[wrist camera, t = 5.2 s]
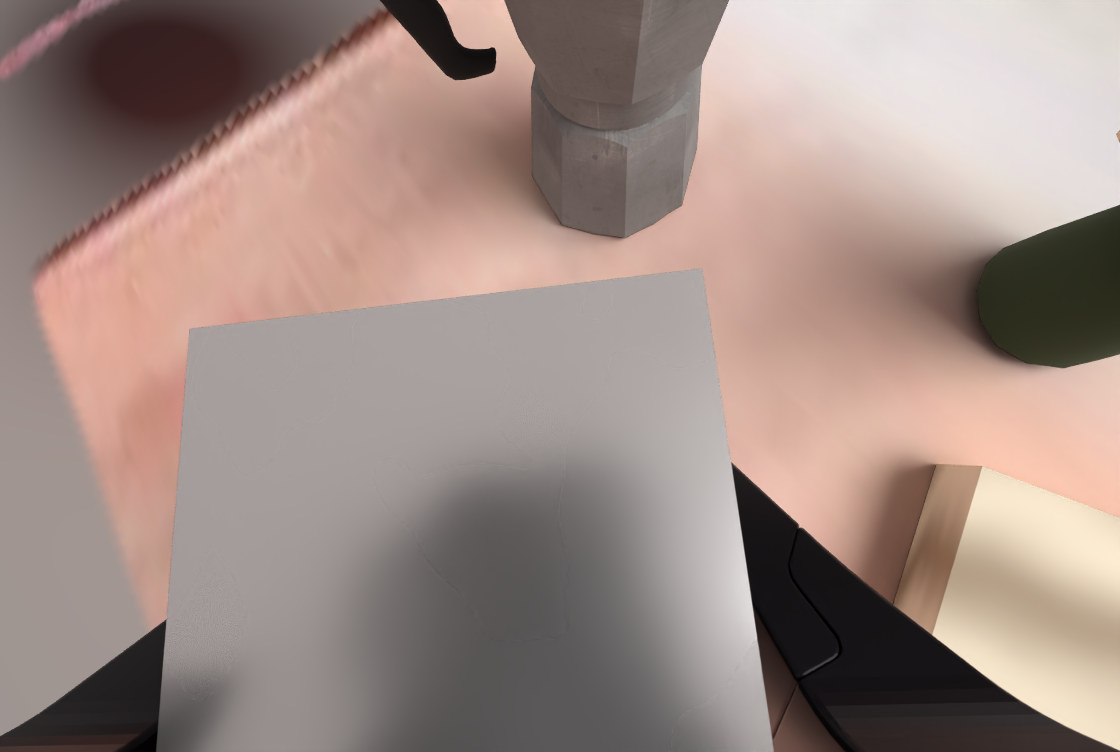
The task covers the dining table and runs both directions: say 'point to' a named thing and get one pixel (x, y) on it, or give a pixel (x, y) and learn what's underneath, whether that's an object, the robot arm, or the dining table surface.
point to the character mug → (1057, 293)
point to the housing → (462, 531)
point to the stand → (1022, 592)
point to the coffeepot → (598, 98)
